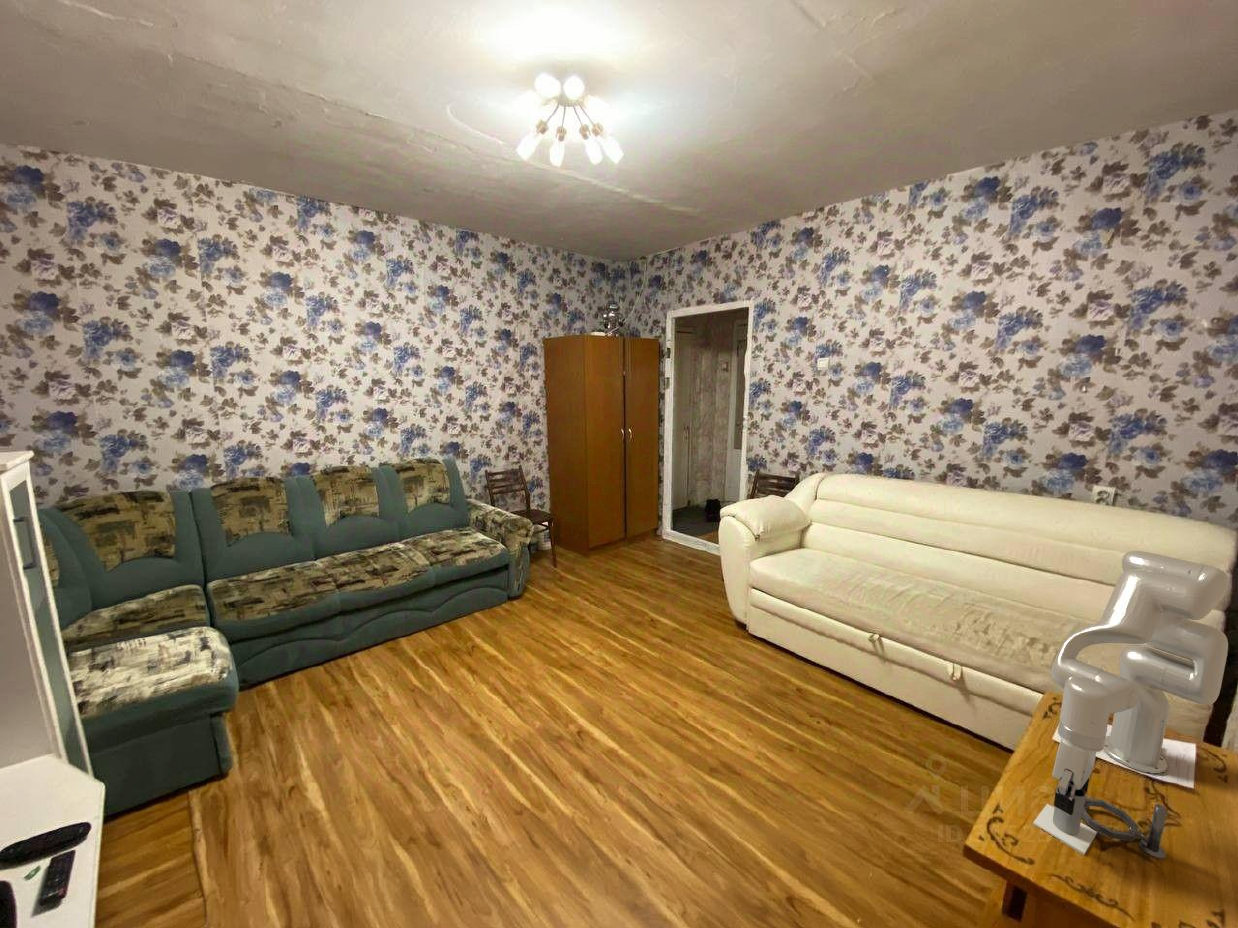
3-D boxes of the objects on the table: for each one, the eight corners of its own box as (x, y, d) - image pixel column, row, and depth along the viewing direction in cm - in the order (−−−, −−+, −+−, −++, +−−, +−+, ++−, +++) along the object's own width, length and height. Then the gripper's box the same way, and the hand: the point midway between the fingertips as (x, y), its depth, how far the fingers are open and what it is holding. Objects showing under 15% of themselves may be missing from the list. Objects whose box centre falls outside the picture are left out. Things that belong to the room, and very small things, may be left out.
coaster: (1046, 805, 120) (1047, 803, 120) (1096, 833, 112) (1097, 831, 112) (1032, 824, 115) (1033, 822, 115) (1084, 855, 107) (1084, 852, 107)
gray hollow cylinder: (1083, 836, 111) (1091, 797, 109) (1060, 833, 112) (1067, 794, 110) (1070, 819, 115) (1076, 781, 113) (1047, 816, 116) (1054, 778, 114)
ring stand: (1084, 800, 121) (1091, 761, 119) (1170, 845, 109) (1179, 803, 107) (1071, 820, 116) (1078, 779, 114) (1160, 870, 104) (1169, 826, 102)
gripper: (1072, 708, 117) (1062, 770, 120) (1045, 740, 108) (1035, 806, 111) (1115, 726, 111) (1104, 791, 114) (1091, 762, 101) (1079, 831, 105)
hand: (1070, 798), depth 112 cm, fingers open, 9 cm apart
